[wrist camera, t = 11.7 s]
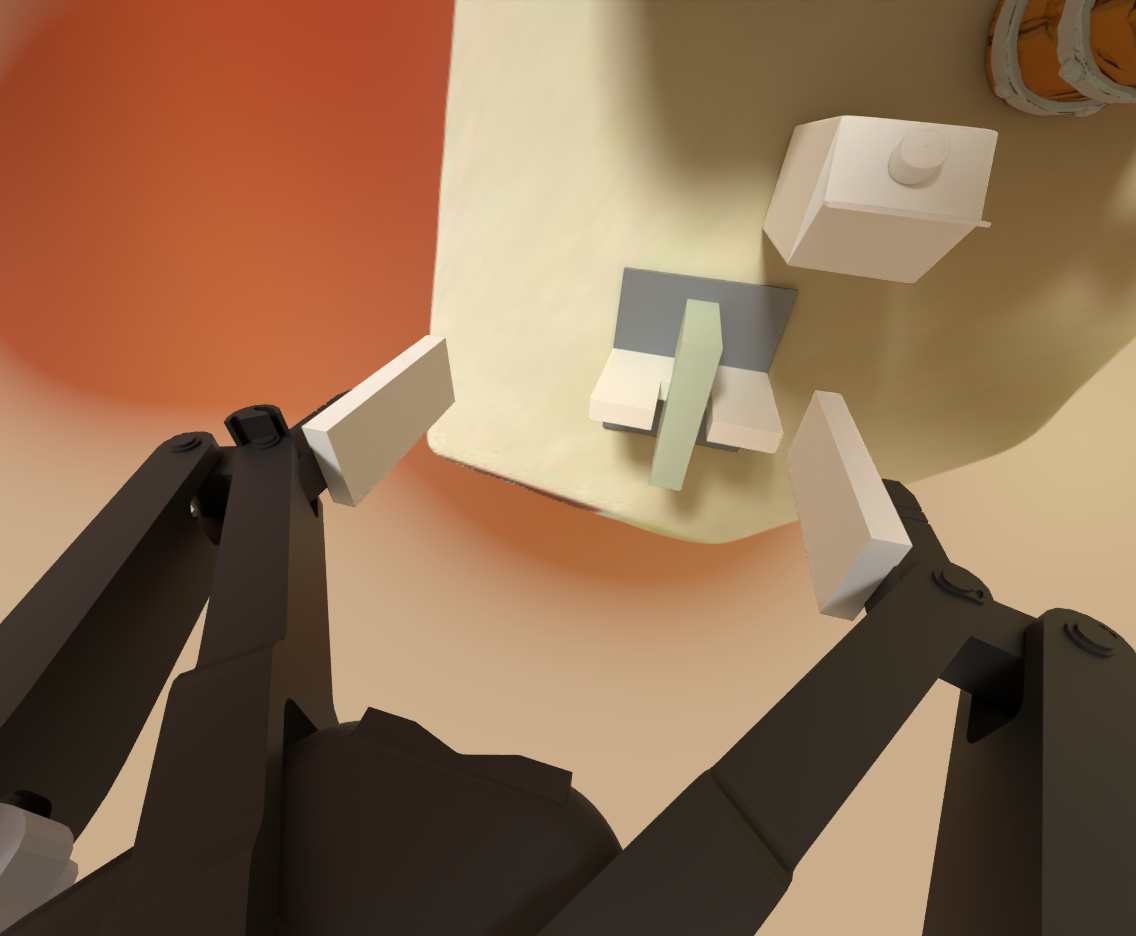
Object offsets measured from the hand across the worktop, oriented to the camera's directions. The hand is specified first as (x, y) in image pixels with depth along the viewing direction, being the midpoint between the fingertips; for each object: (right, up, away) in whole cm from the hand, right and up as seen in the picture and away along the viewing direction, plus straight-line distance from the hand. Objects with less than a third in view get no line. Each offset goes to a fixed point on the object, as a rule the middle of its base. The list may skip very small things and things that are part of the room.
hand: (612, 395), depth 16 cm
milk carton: (+19, +20, +19) cm, 34 cm away
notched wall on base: (+11, +8, +31) cm, 34 cm away
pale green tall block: (+11, +8, +30) cm, 33 cm away
